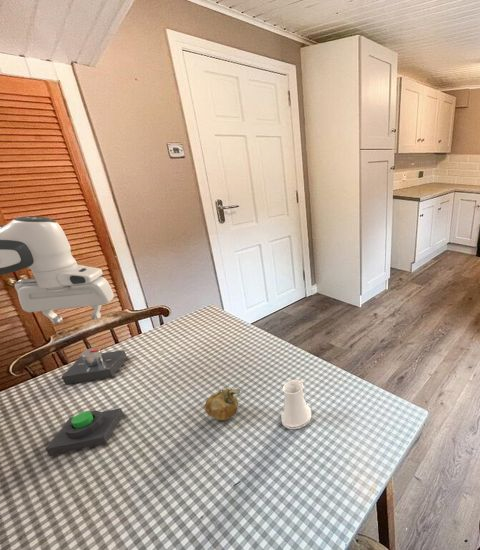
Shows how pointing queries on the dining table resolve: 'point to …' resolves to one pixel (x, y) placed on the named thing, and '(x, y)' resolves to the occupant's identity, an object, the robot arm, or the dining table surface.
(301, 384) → the vase
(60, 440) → the block
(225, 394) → the onion
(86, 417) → the button
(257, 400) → the dining table surface
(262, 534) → the dining table surface
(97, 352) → the program dial
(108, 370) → the dial panel
